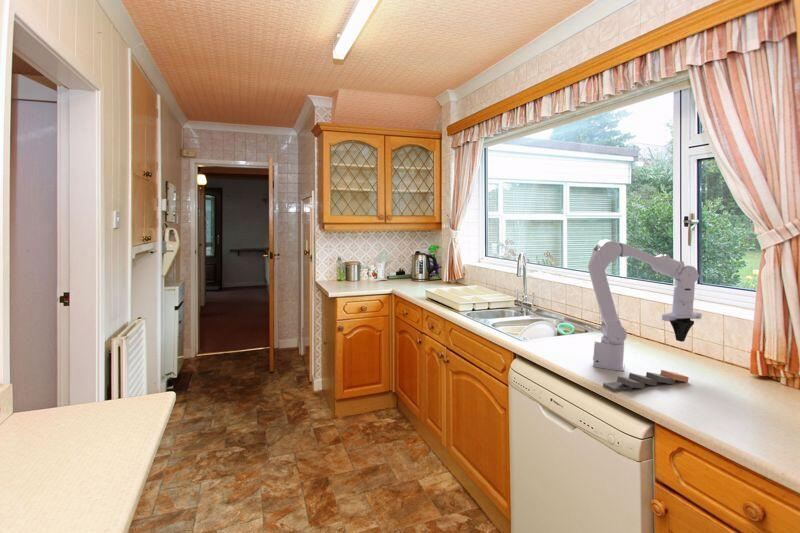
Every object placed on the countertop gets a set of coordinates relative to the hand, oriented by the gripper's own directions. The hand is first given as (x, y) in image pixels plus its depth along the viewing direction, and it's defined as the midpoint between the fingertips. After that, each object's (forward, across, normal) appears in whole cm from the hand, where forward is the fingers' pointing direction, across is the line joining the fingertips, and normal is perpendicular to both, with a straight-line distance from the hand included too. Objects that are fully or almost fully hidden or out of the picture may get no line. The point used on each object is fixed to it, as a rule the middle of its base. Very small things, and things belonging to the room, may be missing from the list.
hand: (680, 340), depth 147 cm
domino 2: (+10, -24, -8) cm, 27 cm away
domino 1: (+10, -28, -7) cm, 30 cm away
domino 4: (+10, -12, -7) cm, 17 cm away
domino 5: (+10, -6, -7) cm, 13 cm away
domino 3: (+10, -19, -7) cm, 22 cm away
